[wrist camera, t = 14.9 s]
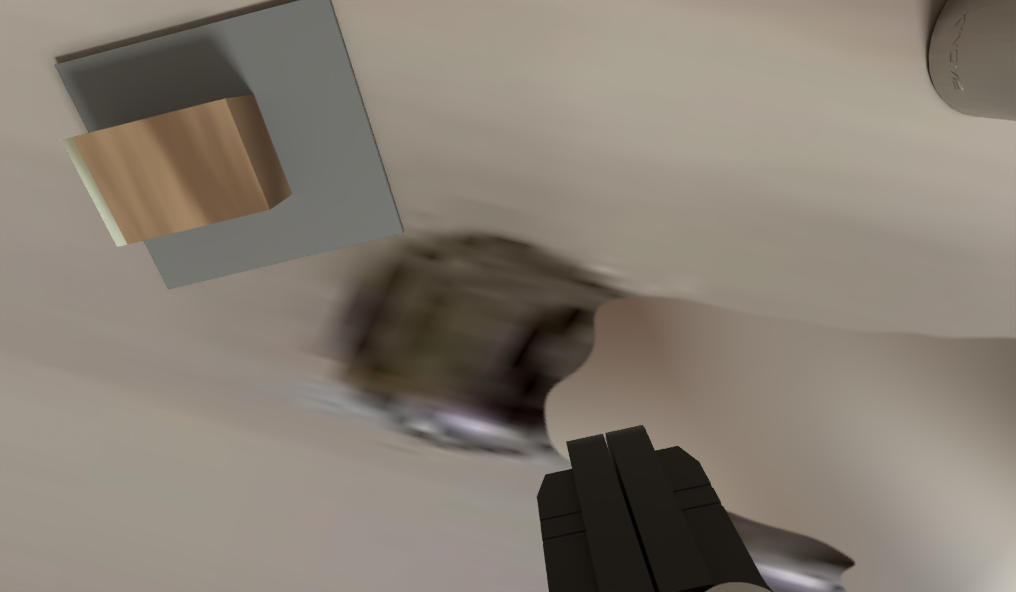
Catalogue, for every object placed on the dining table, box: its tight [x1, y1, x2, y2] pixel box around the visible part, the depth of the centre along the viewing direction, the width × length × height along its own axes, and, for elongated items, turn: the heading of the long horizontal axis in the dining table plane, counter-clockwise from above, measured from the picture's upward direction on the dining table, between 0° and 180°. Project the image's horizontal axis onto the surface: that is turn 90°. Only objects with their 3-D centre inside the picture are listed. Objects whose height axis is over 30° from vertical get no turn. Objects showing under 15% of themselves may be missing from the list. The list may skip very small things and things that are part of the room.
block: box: [62, 95, 292, 247], centre depth 32 cm, size 4×6×9 cm
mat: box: [55, 0, 404, 289], centre depth 34 cm, size 16×14×1 cm
